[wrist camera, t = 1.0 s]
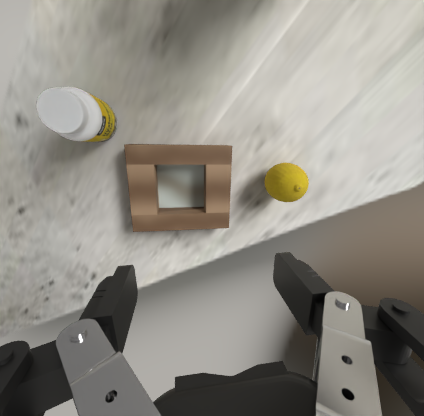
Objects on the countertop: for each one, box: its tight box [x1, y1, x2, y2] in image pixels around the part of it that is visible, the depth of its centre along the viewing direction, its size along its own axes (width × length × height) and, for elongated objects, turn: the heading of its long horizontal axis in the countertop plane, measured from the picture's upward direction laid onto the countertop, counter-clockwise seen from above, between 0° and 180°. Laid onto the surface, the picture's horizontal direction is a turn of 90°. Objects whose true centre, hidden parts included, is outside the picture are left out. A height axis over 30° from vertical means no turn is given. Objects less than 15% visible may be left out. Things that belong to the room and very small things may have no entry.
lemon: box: [265, 163, 309, 202], centre depth 31 cm, size 6×6×8 cm
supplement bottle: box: [36, 87, 117, 142], centre depth 25 cm, size 5×5×10 cm
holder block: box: [124, 144, 232, 232], centre depth 32 cm, size 12×14×4 cm
